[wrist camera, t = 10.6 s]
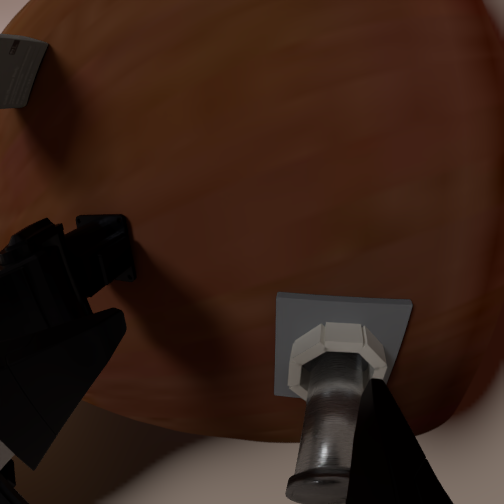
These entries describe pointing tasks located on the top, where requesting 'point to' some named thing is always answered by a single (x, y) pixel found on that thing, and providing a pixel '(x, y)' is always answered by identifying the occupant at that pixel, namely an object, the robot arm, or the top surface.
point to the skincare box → (18, 68)
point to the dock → (335, 335)
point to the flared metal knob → (328, 430)
